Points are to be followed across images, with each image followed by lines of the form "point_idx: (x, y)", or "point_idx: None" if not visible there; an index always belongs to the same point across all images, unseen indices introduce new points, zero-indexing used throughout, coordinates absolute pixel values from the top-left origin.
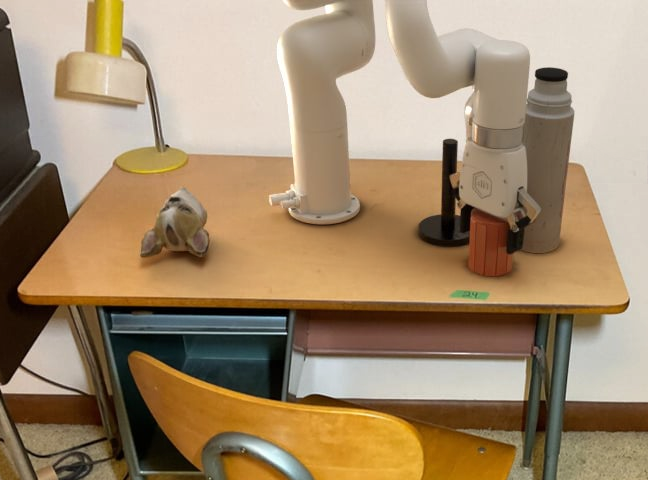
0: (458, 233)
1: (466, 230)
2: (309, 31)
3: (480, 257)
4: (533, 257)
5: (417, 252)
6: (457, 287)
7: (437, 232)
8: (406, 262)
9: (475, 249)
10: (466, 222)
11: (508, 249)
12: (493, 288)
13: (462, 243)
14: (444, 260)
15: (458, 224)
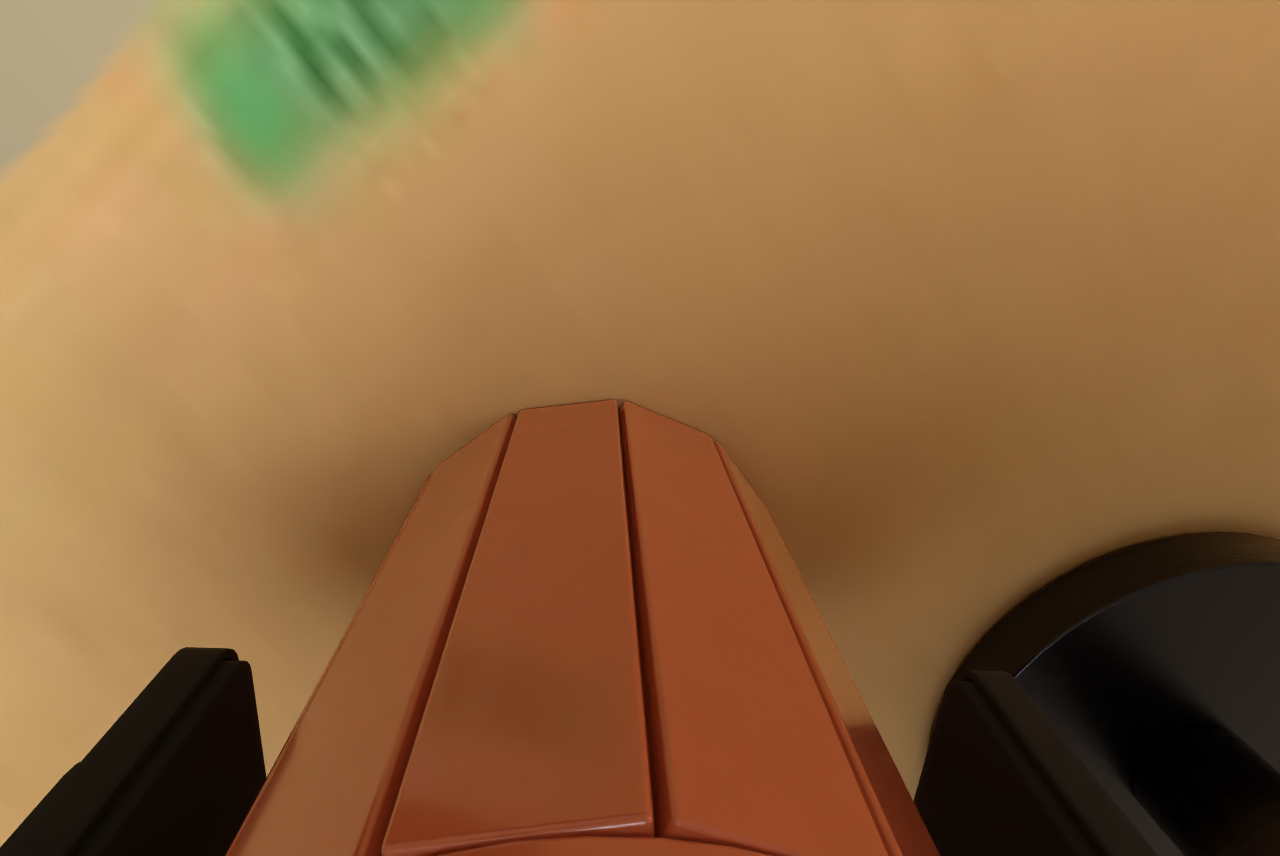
0: None
1: (949, 732)
2: None
3: (550, 476)
4: None
5: (1230, 349)
6: (554, 57)
7: (1224, 658)
8: (1246, 122)
9: (622, 501)
10: (1008, 819)
11: (166, 687)
12: (294, 291)
13: None
14: (952, 396)
15: None
